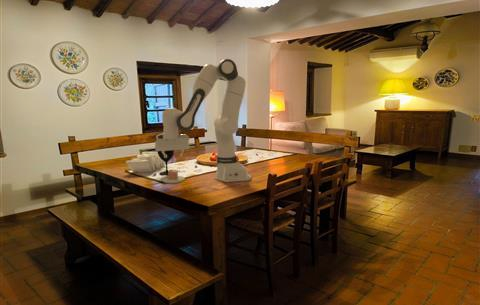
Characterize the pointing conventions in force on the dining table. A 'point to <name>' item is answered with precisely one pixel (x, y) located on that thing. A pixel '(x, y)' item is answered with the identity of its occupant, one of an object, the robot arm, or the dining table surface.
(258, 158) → the dining table surface
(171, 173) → the orange cube
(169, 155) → the wine glass
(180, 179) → the tile
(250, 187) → the dining table surface
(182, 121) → the robot arm
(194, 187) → the dining table surface
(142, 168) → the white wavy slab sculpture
